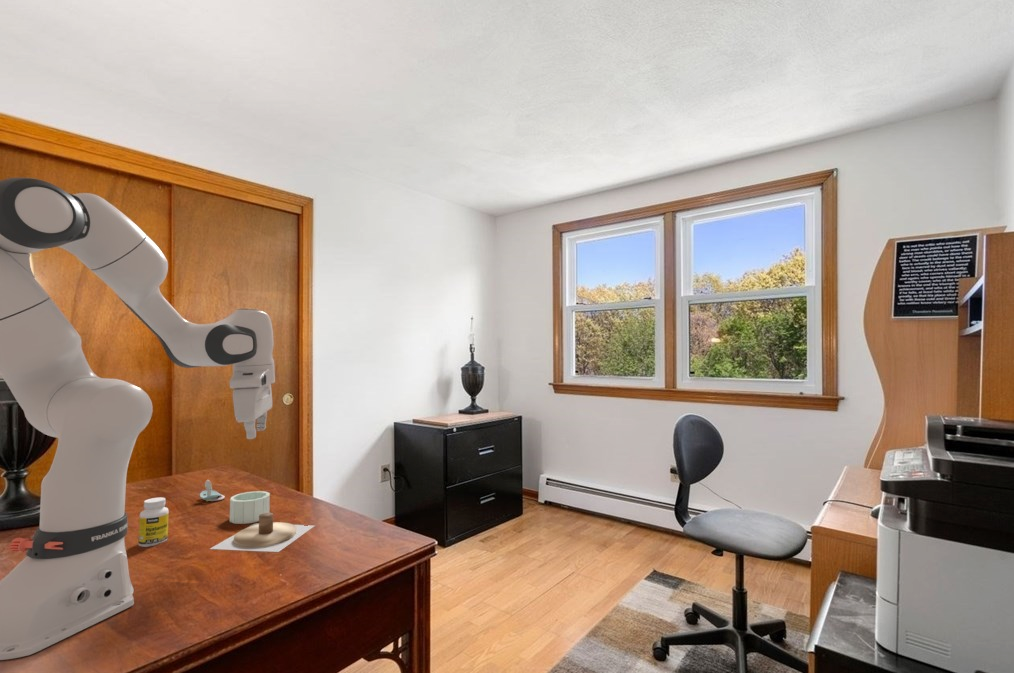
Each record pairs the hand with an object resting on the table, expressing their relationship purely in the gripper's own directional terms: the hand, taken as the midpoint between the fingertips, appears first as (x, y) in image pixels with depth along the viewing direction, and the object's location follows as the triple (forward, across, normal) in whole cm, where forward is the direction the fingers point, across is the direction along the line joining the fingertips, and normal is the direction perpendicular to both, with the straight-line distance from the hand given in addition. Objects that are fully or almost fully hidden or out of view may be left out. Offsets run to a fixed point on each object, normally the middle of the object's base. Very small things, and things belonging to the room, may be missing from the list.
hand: (256, 434), depth 114 cm
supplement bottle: (+23, 0, -22) cm, 32 cm away
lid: (+24, +4, +2) cm, 24 cm away
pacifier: (+25, -34, -20) cm, 47 cm away
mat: (+24, +4, +2) cm, 24 cm away
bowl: (+24, -12, -5) cm, 28 cm away
